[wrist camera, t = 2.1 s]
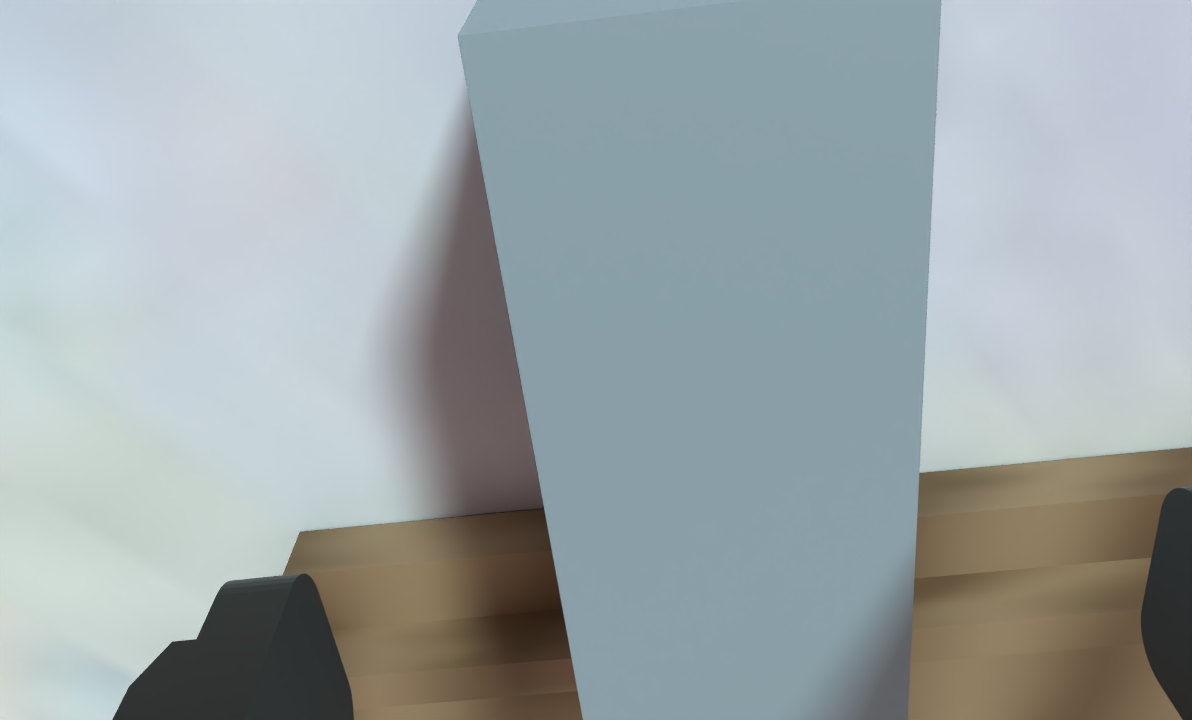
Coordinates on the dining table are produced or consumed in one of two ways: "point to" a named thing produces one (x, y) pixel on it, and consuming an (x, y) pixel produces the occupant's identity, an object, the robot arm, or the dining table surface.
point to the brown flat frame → (940, 605)
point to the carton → (719, 336)
